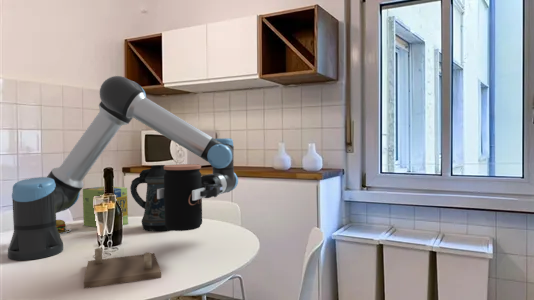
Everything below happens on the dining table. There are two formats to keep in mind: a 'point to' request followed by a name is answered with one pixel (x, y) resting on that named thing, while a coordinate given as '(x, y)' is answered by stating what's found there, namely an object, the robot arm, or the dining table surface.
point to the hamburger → (61, 226)
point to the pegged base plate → (120, 269)
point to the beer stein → (151, 198)
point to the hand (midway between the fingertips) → (175, 194)
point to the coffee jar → (182, 197)
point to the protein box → (97, 191)
